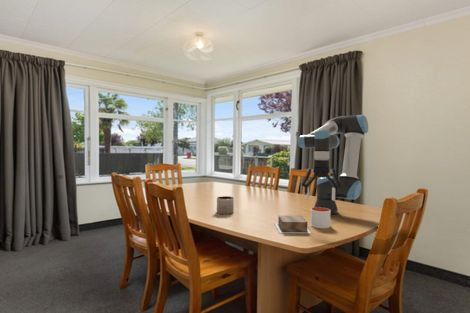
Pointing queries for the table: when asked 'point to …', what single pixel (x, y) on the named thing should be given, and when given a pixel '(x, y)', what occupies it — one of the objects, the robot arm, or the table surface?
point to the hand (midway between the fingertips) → (320, 200)
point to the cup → (320, 217)
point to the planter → (225, 205)
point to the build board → (291, 232)
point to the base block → (292, 224)
